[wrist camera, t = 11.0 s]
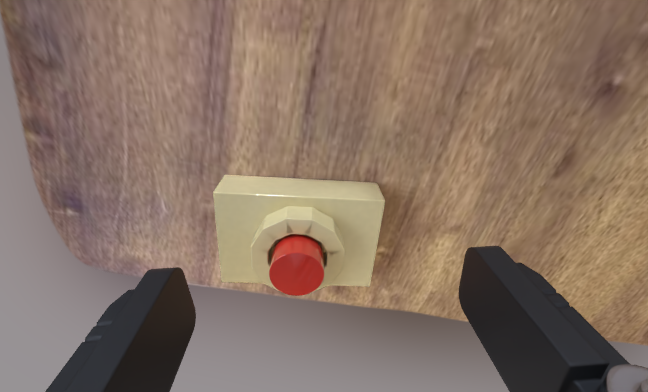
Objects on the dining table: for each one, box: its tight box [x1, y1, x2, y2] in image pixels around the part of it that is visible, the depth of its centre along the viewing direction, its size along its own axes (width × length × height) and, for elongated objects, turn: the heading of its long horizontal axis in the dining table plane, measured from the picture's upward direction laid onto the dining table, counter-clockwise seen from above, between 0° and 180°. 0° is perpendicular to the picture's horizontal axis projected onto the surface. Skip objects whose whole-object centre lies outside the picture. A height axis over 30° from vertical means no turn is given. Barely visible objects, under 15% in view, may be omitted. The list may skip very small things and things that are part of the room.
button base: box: [213, 175, 385, 293], centre depth 24 cm, size 12×8×5 cm, turn 86°
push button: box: [269, 235, 324, 296], centre depth 21 cm, size 4×4×2 cm
